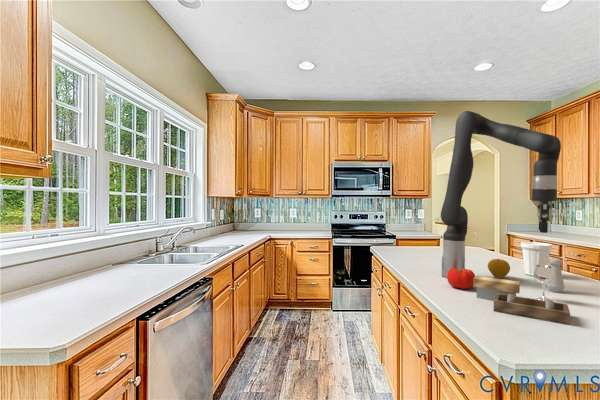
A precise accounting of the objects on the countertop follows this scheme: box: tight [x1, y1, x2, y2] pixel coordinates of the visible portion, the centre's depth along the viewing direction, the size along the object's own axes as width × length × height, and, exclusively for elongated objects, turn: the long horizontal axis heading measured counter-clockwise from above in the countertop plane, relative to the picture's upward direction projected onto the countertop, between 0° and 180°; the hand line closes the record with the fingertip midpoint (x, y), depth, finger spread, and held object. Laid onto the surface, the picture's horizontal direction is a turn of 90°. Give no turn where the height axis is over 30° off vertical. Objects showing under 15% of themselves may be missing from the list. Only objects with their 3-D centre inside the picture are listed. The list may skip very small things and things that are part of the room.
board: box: [472, 275, 521, 294], centre depth 117 cm, size 14×5×3 cm, turn 54°
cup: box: [520, 241, 553, 278], centre depth 155 cm, size 12×12×15 cm
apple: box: [487, 258, 511, 279], centre depth 150 cm, size 9×9×9 cm
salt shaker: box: [545, 257, 565, 294], centre depth 128 cm, size 6×6×13 cm
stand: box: [476, 287, 517, 301], centre depth 117 cm, size 12×4×4 cm, turn 54°
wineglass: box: [533, 265, 554, 301], centre depth 118 cm, size 6×6×12 cm
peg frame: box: [493, 293, 571, 326], centre depth 103 cm, size 19×10×4 cm, turn 54°
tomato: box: [446, 268, 476, 290], centre depth 133 cm, size 11×11×8 cm
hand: (542, 231), depth 121 cm, fingers open, 8 cm apart
